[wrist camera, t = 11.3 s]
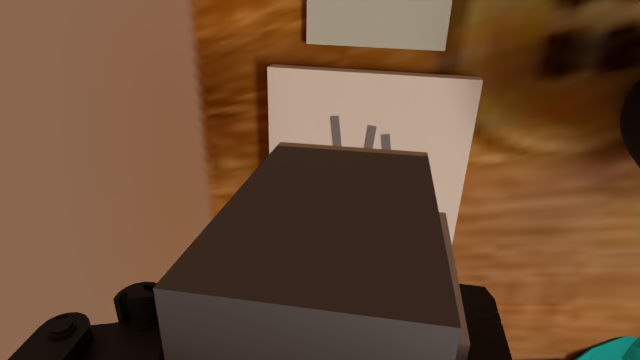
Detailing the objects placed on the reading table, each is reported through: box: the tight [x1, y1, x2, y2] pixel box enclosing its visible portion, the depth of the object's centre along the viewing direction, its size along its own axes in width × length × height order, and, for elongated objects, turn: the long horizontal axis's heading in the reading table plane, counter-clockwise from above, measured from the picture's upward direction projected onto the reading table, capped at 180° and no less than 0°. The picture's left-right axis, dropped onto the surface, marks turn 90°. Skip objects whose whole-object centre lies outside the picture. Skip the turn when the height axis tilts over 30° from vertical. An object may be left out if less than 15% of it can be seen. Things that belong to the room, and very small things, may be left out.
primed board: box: [267, 64, 483, 244], centre depth 33 cm, size 22×14×1 cm, turn 178°
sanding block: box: [153, 142, 461, 360], centre depth 14 cm, size 8×6×10 cm
